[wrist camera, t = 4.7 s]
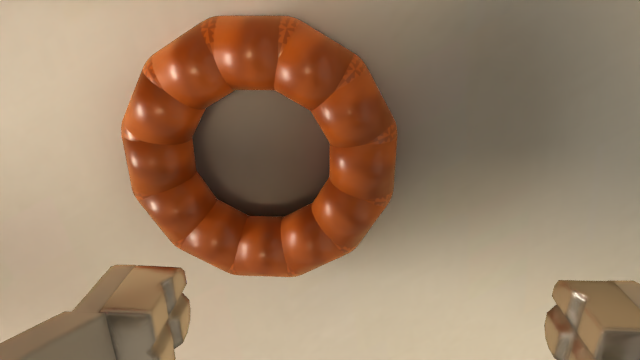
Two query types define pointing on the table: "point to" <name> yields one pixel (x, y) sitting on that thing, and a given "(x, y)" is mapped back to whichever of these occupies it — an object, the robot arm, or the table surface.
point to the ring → (296, 84)
